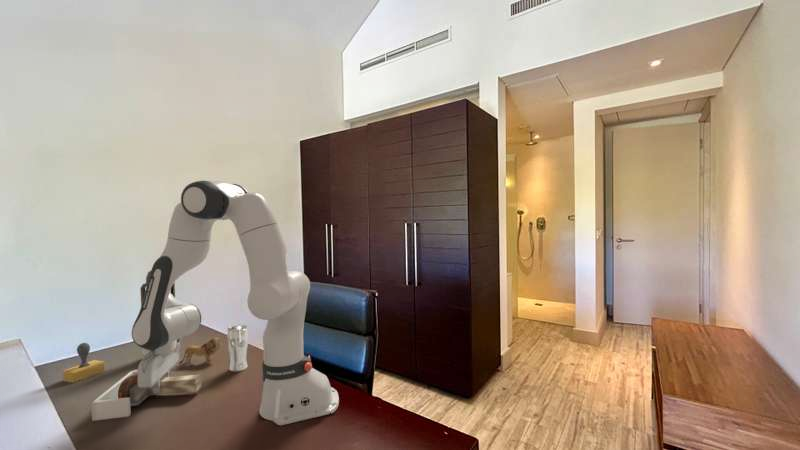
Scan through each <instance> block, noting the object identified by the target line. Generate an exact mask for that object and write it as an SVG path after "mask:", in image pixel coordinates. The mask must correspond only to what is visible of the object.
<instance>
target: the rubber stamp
mask: <svg viewBox="0 0 800 450" xmlns="http://www.w3.org/2000/svg"><path fill="white" fill-rule="evenodd" d="M90 351H91V346H90V344H89V343H87V342H82V343H80V344H78V346H77V348H76V352H77V355H78V357H80V360H81V363H80V364H78V365H76V366H73V367H69V368H67V369H64V370H63V371H62V378H63V380H65V381H69V382H68V383H70V382H75V383H77V382H80V381H83V380H86V379H88V378H90V377H94V376H96V375H98V374H101V373H103V372H106V362H105V361H103V360H97V359H93V360H90V361H87V358H88V356H89V352H90ZM82 379H83V380H82ZM63 380H62V381H63ZM79 380H80V381H79ZM65 381H64V382H65ZM76 381H77V382H76Z"/></svg>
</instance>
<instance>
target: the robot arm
mask: <svg viewBox="0 0 800 450" xmlns="http://www.w3.org/2000/svg"><path fill="white" fill-rule="evenodd" d="M218 220H220V221H221V220H222V221H224V220H229V221H231V222H232V224H233V225H234V227H235V230H236V233H237V236H238V239H239V241H240V245H241V247H242V249H243V252H244V255H245V258H246V261H247V266H248V272H249V273H248V274H249V282H250V283H249V285H250V286H249V293H248V295H247V307H248V310H249V311H250V313H251V314H252V316H254V317H255V318H257V319H259V320H264V321H267V322H266V326H265V329H264V331H263V334H262V343H263V345H262V346H263V360H262V363H261V377H262V382H263V389H262V397H261V402H260V407H259V410H258V413H259V415H260V417H262V418H264V419H265V420H268V421H271V422H274V423H275V424H276V425H278V426H284V425H288V424H292V423H296V422H300V421H305V420H310V419H313V418H318V417H323V416H326V415H331V414H333V413H335V412H336V411H337V409H338V407H339V404H340V397H339V392H338V391H337V389H335V388H334V387H332V386H331V383H330V381H329V378H328V376H327V375H326V374H324V373H322V372H321V371H319V370H317V369H315V368H314V367H313V363H312V358H311V355H308V356H307V355H305V354H304V325H305V317H306V312H307V304H308V303H307V302H308V298H309V293H310V290H311V282H310V281H311V280H310V278H309V277H308V276H307V274H305V273H303V272H301V271H300V270H299V271H298V270H288V268H287V267H288V266H287V261H286V260H287V257H286V256H287V255H286V254H287V246H286V243H285V240H284V237H283V234H282V232H281V230H280V227H279V224H278V222H277V220H276V217H275V214H274V213H273V210H272V208H271V207H270V205H269V203H268V201H267V200H266V199H265V197H264V196H263V195H261V194H259V193H256V192H250V191H249V190H248V189H247V188H245V187H243V186H242V185H240V184H237V183H229V182H224V181H219V180H197V181H193V182H191V183H189V184H187V185H186V186H185V187H184V188H183V190H182V191H181V196H180V202H178V203H177V204H176V205H175V207H174V210H173V212H172V215H171V217H170V222H169V226H168V227H169V228H168V233H167V241H166V243H165V246H164V249H163V251H162V252H161V254H160V256H159V257H158V258H157V259H156V260H155V261H154V263H153V265H152V268H151V270H150V271H151V273H150V276H149V279H148V283H147V287H146V288H145V294H144V298H143V301H142V304H141V303H140V309H139V312H138V314H137V316H136V318H135V320H134V322H133V325H132V328H131V338H132V341H133V343H134V345H135V344H136V345H137V346H138V347H140V348H141V354H142V355H143V358H142V360H141V361H140V362H139V363H138V366H137V367H138V368H137V370H138V387H139V388H150V387H152V388H153V393H159V392H160V391H161V390H162V385H160V383H159V382H160V378H163V377H170V374H171V373H170V372H171V369H172V368H173V367H174V366H175V365H176V364H178V362H180V361H179V359H180V356H181V343H180V342H181V340H182V338H184V337H186V336H188V335H191V334H193V333H195V332H197V331H198V330H199V328H200V327H201V325H202V324H201V323H202V313H201V311H200V309H199V308H198V307H197V306H196V305H194V304H193V303H186V302H184V301H182V300H178V299H177V298H176V297H175V298H174V296H173V295H172V294H171V287H172V285H173V284H174V283H175V282H176V281H178V279H179V278H180V277H182V276H183V275H184V274H186V273H187V272H189V271H191V270H193V269H194V268H196V267H198V266H199V265H200V264H202V263H203V262H204V261H205V259H207V257H208V254H209V250H210V248H211V238H212V237H211V236H212V229H213V226H214V223H215V222H217V221H218ZM330 413H331V414H330Z"/></svg>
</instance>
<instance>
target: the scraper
mask: <svg viewBox="0 0 800 450" xmlns="http://www.w3.org/2000/svg"><path fill="white" fill-rule="evenodd" d="M201 379H202V378H201V374H189V375H178V376H177V375H176V376H169V377H163V378H160V382H159V383H160V385H162V390H161V391H160V392H159V393H153V388H152V387H150V388H139V387H138V383H137V384H136V385H134V386H133V387H132V388H130V389H129V392H130V404H131V406H130V407H135V406H139V405H141V403H143V401H145V400H146V399H147V398H149V397H150V396H158V395H159V396H161V395H170V394H182V393H194V392H198V391H199V390H200V389H201V388H202V381H201ZM134 405H135V406H134Z"/></svg>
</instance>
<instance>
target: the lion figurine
mask: <svg viewBox="0 0 800 450" xmlns="http://www.w3.org/2000/svg"><path fill="white" fill-rule="evenodd" d="M221 346H222V344H221V339H220V338H218V337H212V338H211V339H210V340H209V341H207V342H205V343H203V345H201V346H199V345H198V346H197V345H189V346H188V347H187V348H186V349H185V351H184V353H183V358H182V360H181V361H179V363H178V364H179V365H180V364H182V363H183V362H184V361H185V363H188V365H189V366H193V365H194V363H193V362H191V360H192V356H193V355H195V356H197V357H204V358H205V362H206V365H210V364H211V361H212V358H210V357H211V356H212V355H215V354H216V352H217V351H218V350H220V348H221Z"/></svg>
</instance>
